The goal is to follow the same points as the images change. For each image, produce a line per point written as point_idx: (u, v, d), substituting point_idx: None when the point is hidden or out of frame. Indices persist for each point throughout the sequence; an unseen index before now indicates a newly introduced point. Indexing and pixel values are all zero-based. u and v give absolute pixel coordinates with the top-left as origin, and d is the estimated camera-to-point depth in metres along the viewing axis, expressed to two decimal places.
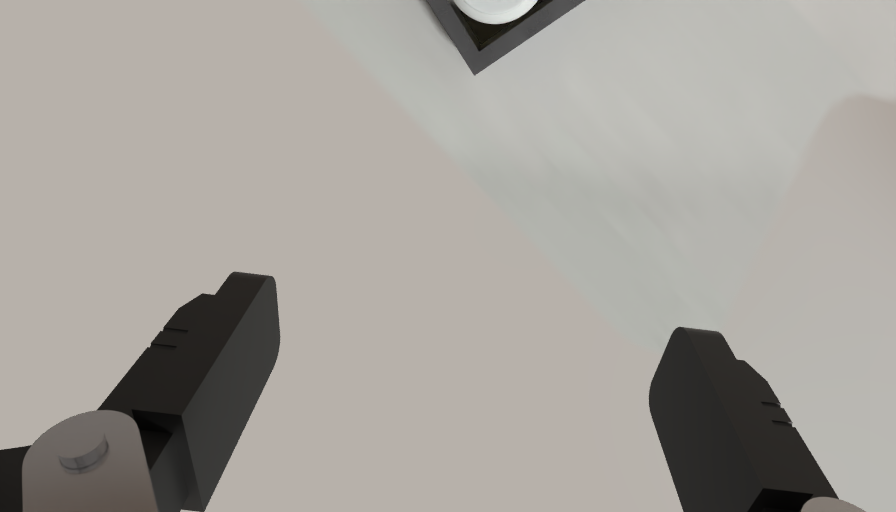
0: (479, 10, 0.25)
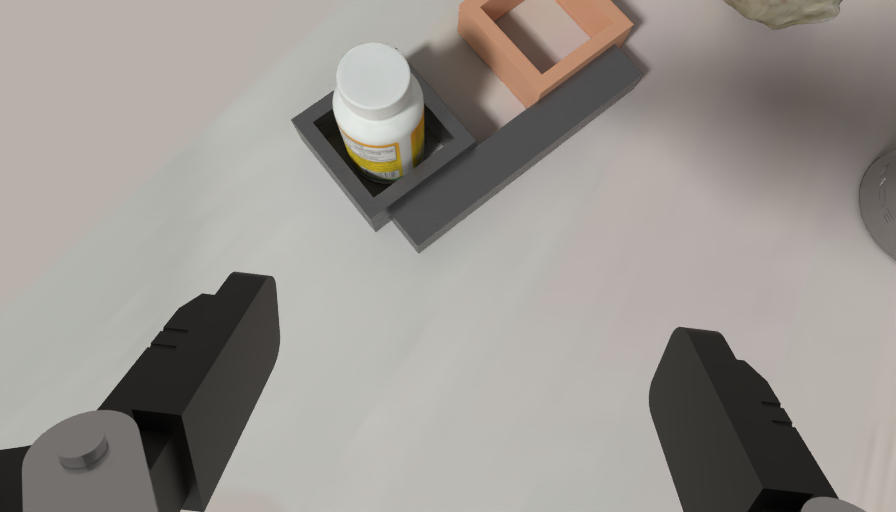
0: (339, 65, 0.29)
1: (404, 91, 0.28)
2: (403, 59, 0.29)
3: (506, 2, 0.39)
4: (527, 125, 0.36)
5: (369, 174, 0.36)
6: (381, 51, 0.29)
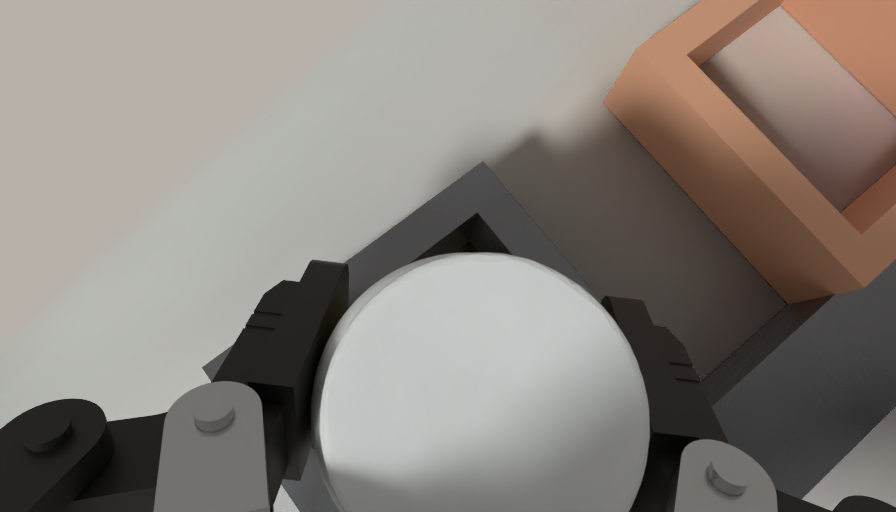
0: (333, 366, 0.06)
1: (631, 501, 0.06)
2: (613, 334, 0.07)
3: (723, 39, 0.17)
4: (817, 361, 0.14)
5: None
6: (516, 296, 0.07)
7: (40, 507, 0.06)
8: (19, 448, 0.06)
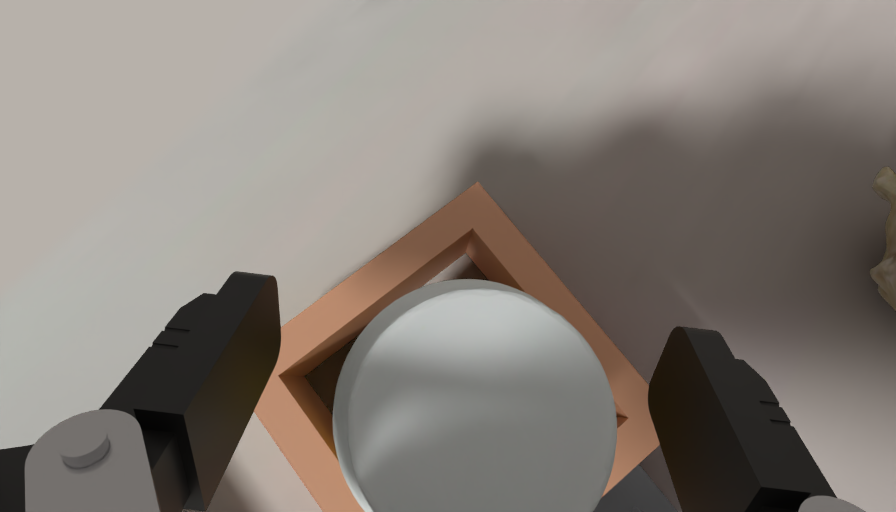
0: (357, 383, 0.08)
1: (601, 492, 0.08)
2: (587, 355, 0.08)
3: (366, 319, 0.16)
4: None
5: None
6: (507, 324, 0.08)
7: None
8: None
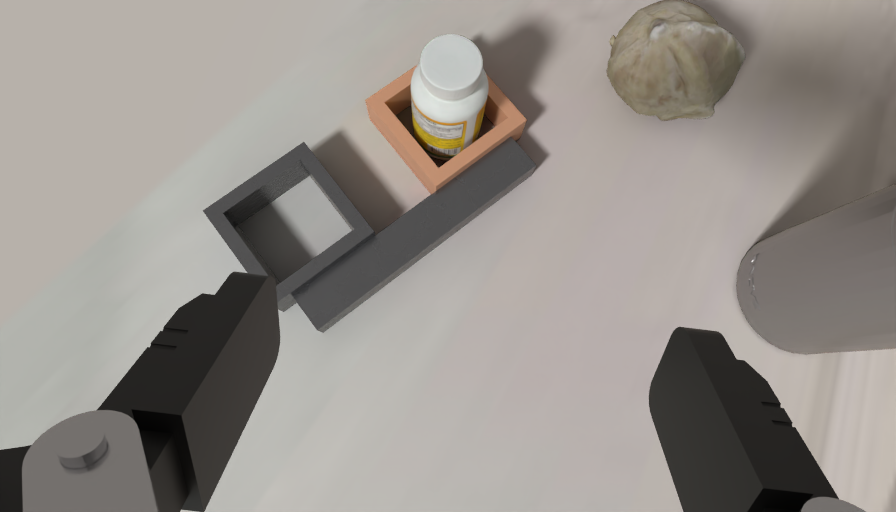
0: (422, 53, 0.34)
1: (478, 75, 0.34)
2: (476, 48, 0.34)
3: None
4: (425, 214, 0.39)
5: (433, 151, 0.41)
6: (457, 41, 0.34)
7: None
8: None
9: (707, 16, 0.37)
